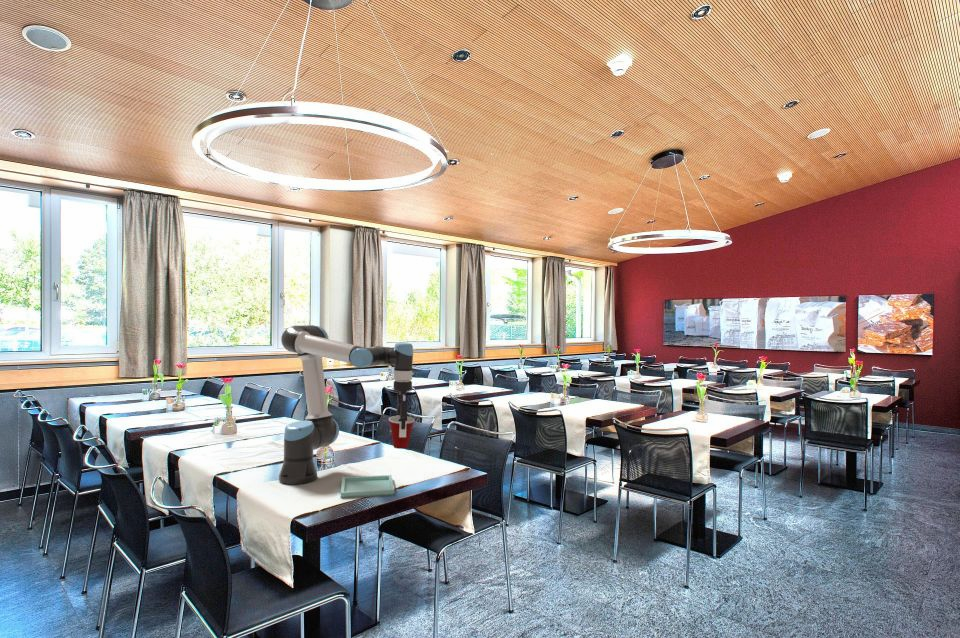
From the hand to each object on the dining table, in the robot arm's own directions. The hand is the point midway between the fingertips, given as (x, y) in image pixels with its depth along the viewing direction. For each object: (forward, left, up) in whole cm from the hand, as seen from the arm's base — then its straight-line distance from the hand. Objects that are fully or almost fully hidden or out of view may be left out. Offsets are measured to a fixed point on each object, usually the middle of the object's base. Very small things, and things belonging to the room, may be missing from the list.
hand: (401, 434), depth 218 cm
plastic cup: (0, 0, -6) cm, 6 cm away
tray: (-13, -4, -20) cm, 25 cm away
